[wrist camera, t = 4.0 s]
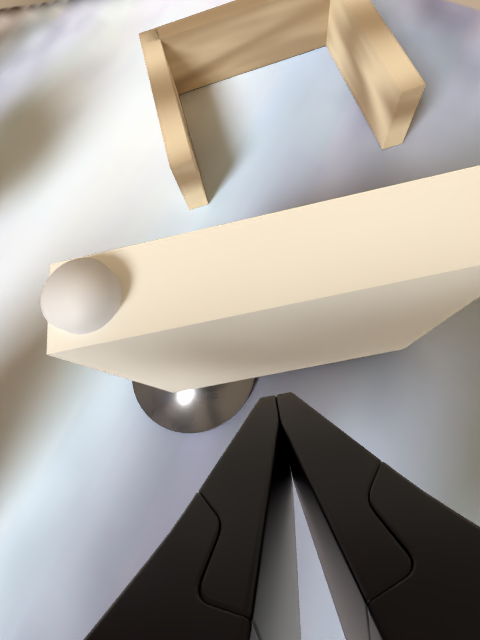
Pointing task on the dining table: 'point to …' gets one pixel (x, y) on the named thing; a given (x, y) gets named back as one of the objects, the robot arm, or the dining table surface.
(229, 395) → the pivot plate
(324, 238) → the lever
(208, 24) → the tray
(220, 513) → the robot arm
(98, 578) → the dining table surface
